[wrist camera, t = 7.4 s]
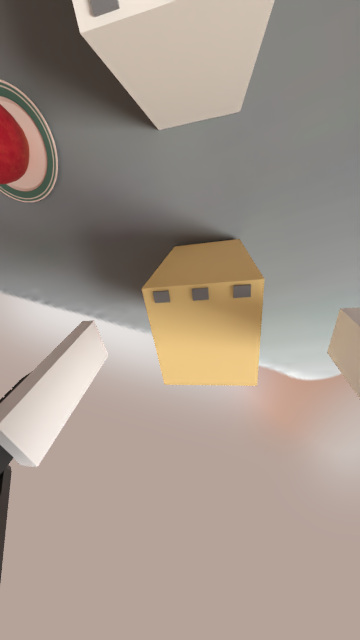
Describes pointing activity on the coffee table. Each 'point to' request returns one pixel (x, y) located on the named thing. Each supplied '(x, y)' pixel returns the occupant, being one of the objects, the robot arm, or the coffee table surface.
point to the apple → (25, 148)
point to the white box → (178, 52)
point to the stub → (206, 314)
